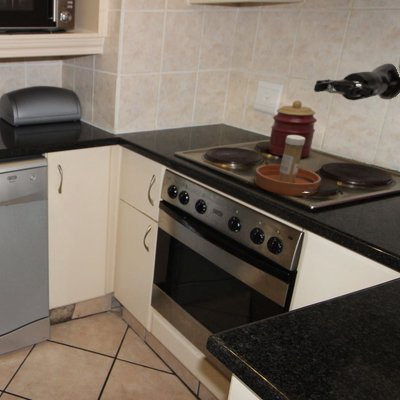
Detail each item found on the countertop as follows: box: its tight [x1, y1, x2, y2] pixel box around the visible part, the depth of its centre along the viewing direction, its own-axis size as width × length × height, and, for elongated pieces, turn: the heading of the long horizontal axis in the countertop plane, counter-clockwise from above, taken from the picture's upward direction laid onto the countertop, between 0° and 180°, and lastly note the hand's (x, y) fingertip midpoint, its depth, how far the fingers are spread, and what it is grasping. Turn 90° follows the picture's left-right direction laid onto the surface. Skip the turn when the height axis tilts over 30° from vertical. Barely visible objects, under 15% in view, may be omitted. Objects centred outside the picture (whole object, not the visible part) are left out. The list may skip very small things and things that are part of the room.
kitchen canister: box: [267, 100, 318, 158], centre depth 159 cm, size 13×13×18 cm
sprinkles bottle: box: [278, 135, 305, 183], centre depth 131 cm, size 5×5×14 cm
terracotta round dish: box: [253, 164, 322, 197], centre depth 133 cm, size 16×16×4 cm
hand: (332, 90), depth 128 cm, fingers open, 8 cm apart
